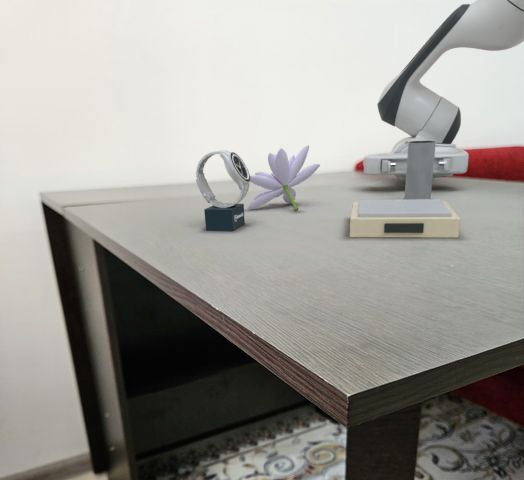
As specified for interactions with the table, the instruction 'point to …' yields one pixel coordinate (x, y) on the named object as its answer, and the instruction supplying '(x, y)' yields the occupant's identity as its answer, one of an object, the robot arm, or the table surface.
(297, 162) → the water lily
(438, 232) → the scale
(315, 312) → the table surface
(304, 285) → the table surface
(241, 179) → the watch
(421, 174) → the grey tall cylinder
